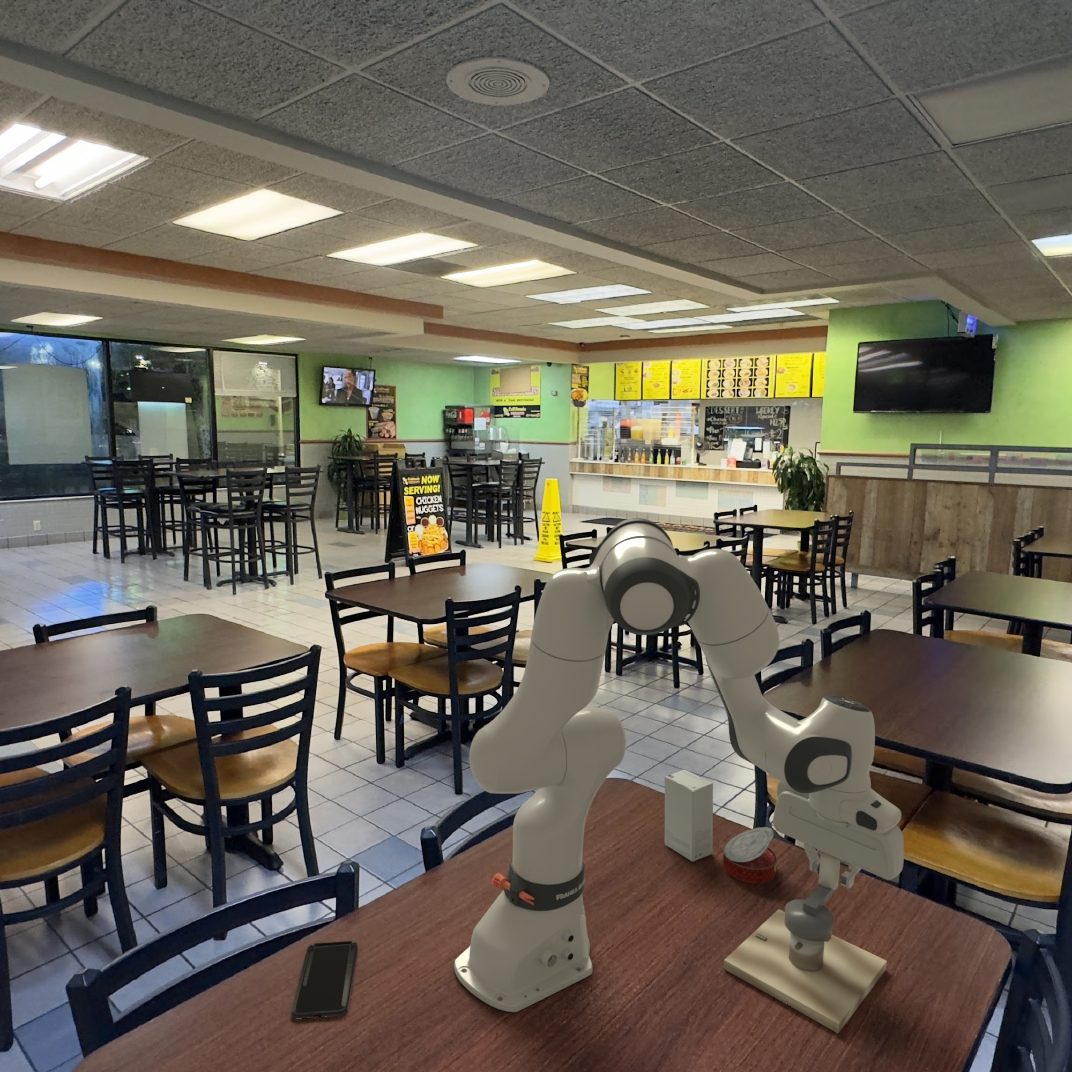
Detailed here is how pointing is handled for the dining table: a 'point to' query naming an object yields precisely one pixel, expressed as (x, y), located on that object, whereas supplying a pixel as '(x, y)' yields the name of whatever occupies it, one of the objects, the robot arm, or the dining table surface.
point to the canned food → (751, 856)
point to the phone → (325, 980)
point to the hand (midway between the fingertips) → (831, 878)
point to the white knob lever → (815, 904)
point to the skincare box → (689, 815)
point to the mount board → (807, 971)
